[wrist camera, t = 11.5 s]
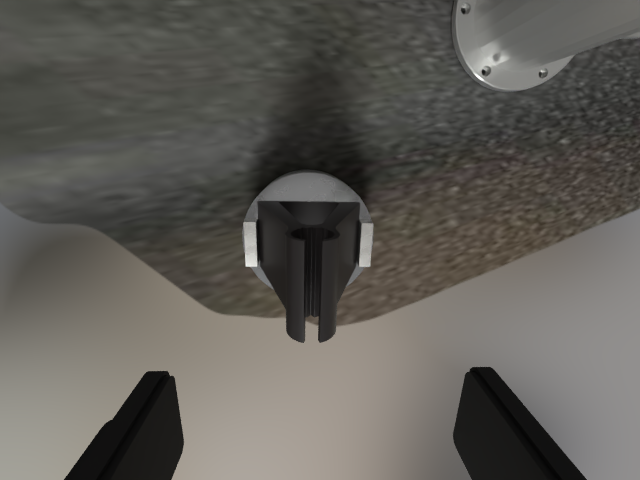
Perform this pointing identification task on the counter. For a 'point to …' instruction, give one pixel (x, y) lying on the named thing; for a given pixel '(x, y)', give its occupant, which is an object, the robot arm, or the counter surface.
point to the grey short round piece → (309, 189)
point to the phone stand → (308, 258)
